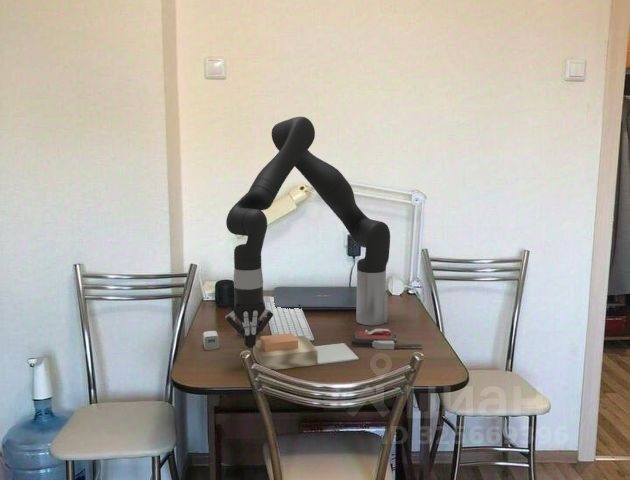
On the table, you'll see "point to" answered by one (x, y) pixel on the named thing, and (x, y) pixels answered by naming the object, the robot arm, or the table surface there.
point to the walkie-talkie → (379, 340)
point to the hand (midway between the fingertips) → (250, 347)
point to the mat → (334, 353)
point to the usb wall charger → (210, 340)
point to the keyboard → (287, 320)
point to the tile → (279, 342)
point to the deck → (287, 355)
